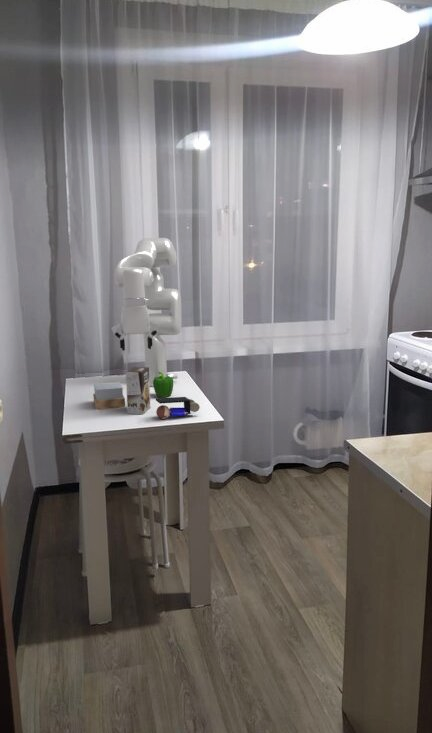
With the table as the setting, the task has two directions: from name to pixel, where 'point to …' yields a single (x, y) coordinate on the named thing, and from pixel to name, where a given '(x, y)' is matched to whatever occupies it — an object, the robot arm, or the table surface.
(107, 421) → the table surface
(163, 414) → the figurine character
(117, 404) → the tower base block
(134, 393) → the coffee box
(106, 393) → the tower top block
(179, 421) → the table surface
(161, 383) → the bell pepper
